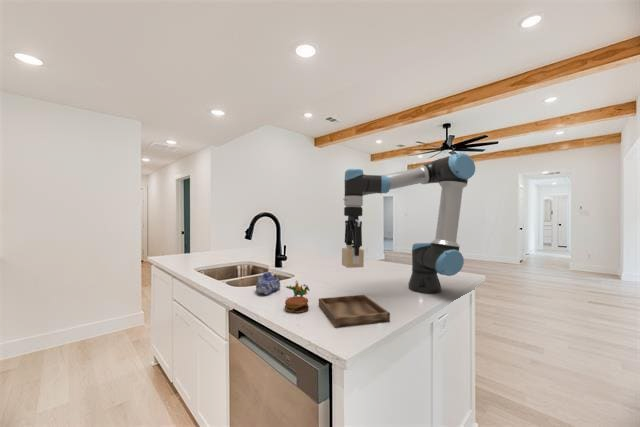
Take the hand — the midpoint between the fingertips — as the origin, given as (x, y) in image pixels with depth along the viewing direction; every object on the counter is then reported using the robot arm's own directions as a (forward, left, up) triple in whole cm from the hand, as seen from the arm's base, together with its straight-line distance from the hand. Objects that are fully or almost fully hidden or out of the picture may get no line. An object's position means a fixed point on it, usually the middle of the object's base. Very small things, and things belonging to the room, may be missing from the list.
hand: (352, 261), depth 112 cm
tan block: (0, 0, -2) cm, 2 cm away
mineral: (+33, -27, -18) cm, 47 cm away
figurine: (+21, -13, -18) cm, 31 cm away
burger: (+23, 0, -18) cm, 29 cm away
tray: (+4, +9, -18) cm, 20 cm away
